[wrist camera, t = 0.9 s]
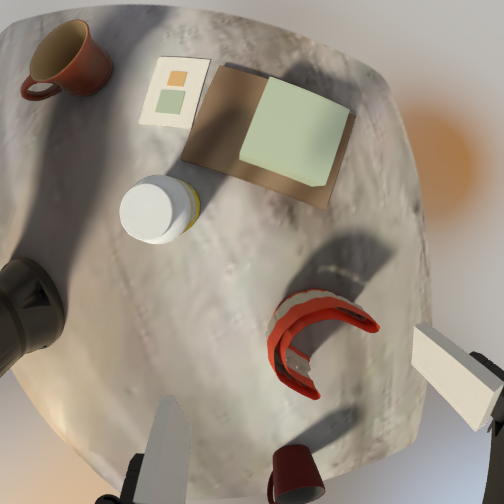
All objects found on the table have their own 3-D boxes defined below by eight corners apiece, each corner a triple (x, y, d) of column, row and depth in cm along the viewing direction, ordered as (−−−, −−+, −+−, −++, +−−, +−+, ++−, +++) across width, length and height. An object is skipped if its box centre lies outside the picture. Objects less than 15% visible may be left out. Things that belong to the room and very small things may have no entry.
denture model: (299, 261, 34) (316, 281, 26) (356, 300, 36) (382, 325, 28) (243, 337, 36) (245, 371, 28) (302, 367, 37) (315, 402, 30)
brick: (239, 159, 30) (239, 152, 25) (265, 93, 28) (269, 76, 23) (311, 186, 31) (325, 185, 26) (334, 120, 29) (349, 109, 24)
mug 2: (281, 474, 44) (287, 512, 33) (249, 464, 42) (252, 506, 31) (321, 448, 42) (335, 489, 31) (291, 437, 41) (301, 482, 30)
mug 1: (110, 42, 26) (81, 8, 16) (128, 78, 28) (96, 45, 18) (49, 90, 26) (9, 71, 16) (61, 129, 28) (16, 116, 18)
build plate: (182, 160, 31) (180, 159, 29) (220, 69, 28) (219, 65, 27) (322, 209, 33) (325, 209, 32) (352, 118, 30) (355, 116, 29)
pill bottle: (143, 222, 32) (101, 237, 20) (159, 172, 31) (122, 162, 19) (191, 240, 33) (169, 263, 21) (209, 189, 32) (194, 185, 20)
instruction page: (138, 123, 29) (138, 123, 29) (159, 57, 27) (159, 56, 27) (191, 129, 30) (190, 128, 30) (210, 60, 28) (210, 59, 28)
